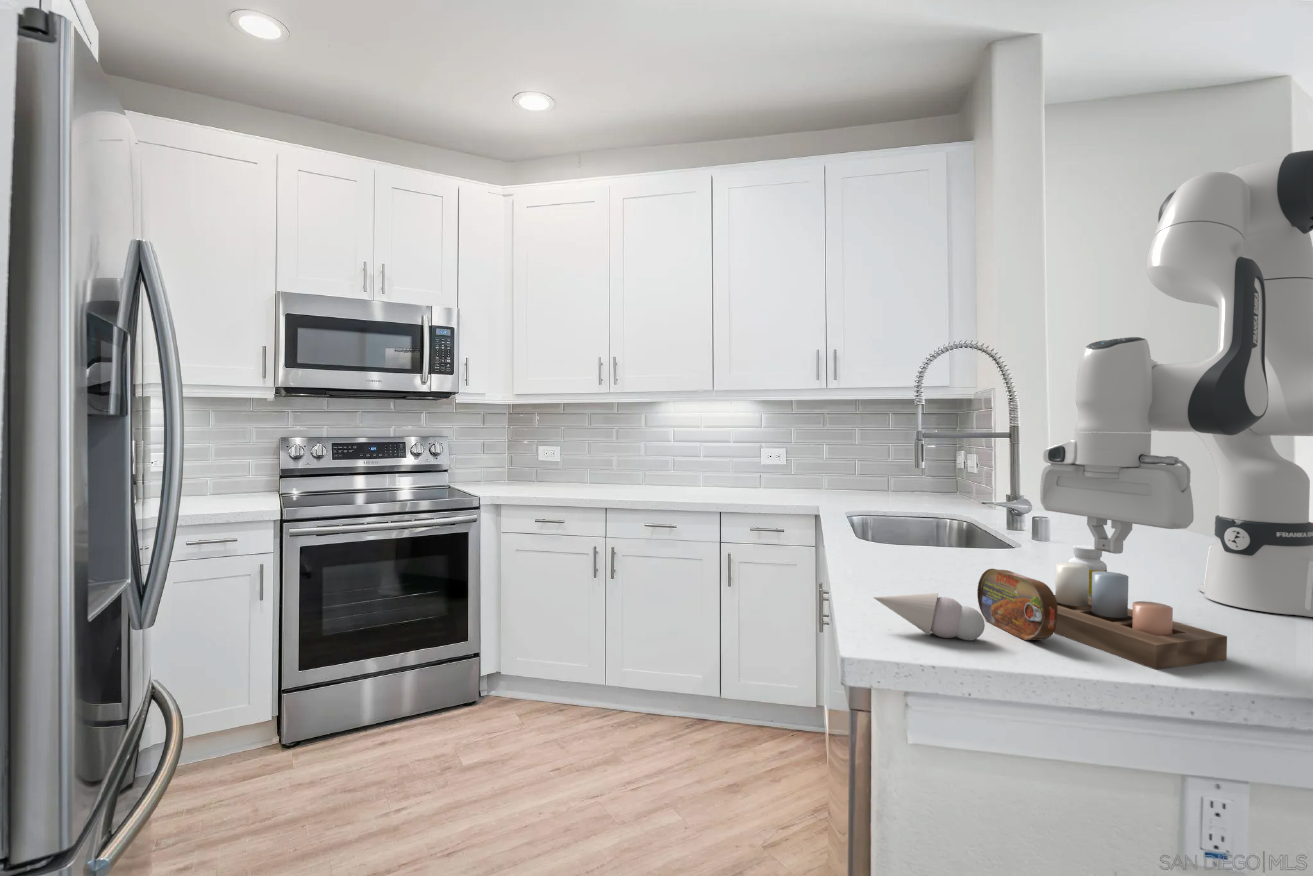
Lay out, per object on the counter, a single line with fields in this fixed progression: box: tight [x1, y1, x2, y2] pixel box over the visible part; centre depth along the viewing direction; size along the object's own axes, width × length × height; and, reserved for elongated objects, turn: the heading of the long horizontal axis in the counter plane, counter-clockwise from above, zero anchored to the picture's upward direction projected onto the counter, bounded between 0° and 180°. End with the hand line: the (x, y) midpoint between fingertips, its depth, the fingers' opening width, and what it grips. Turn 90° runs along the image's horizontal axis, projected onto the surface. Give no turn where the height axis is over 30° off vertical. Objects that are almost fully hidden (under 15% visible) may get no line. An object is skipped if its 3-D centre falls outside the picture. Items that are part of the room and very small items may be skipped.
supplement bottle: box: [1067, 544, 1108, 598], centre depth 107 cm, size 5×5×10 cm
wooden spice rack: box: [1053, 594, 1228, 670], centre depth 92 cm, size 12×22×3 cm, turn 16°
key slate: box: [1092, 571, 1129, 618], centre depth 92 cm, size 4×4×6 cm
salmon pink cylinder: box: [1132, 600, 1174, 636], centre depth 86 cm, size 4×4×6 cm
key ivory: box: [1054, 562, 1089, 606], centre depth 98 cm, size 4×4×6 cm
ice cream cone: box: [873, 592, 986, 641], centre depth 93 cm, size 6×6×15 cm
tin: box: [976, 568, 1058, 641], centre depth 95 cm, size 15×3×8 cm, turn 5°
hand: (1108, 551), depth 92 cm, fingers closed
